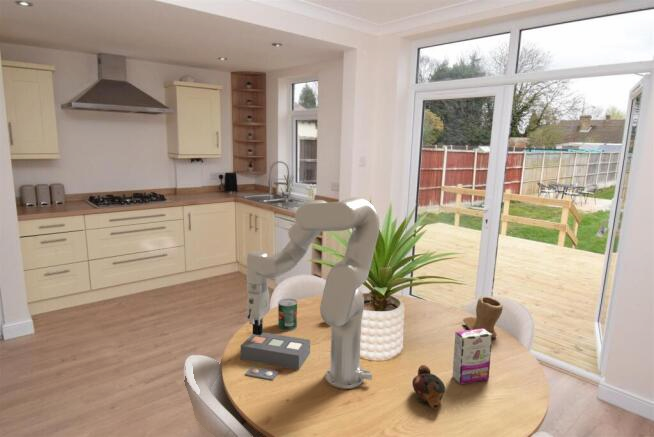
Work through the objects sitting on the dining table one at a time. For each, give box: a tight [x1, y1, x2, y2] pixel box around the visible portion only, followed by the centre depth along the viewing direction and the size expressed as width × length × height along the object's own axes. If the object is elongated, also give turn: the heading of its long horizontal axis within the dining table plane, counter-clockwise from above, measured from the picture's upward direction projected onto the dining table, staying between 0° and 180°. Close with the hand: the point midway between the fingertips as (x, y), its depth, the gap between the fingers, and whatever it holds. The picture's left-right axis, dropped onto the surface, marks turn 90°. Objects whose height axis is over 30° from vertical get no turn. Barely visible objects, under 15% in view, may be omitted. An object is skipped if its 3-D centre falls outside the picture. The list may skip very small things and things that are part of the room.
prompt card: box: [244, 366, 280, 381], centre depth 136 cm, size 10×5×1 cm, turn 74°
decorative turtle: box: [411, 364, 446, 410], centre depth 124 cm, size 10×15×8 cm, turn 8°
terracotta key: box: [250, 336, 266, 344], centre depth 149 cm, size 4×4×2 cm
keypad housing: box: [240, 331, 311, 371], centre depth 147 cm, size 22×12×5 cm, turn 74°
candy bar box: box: [452, 328, 493, 385], centre depth 134 cm, size 11×5×16 cm, turn 105°
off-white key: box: [286, 342, 302, 350], centre depth 145 cm, size 4×4×2 cm
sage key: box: [268, 339, 284, 347], centre depth 147 cm, size 4×4×2 cm
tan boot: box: [463, 296, 503, 339], centre depth 169 cm, size 15×12×15 cm
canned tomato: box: [277, 298, 298, 332], centre depth 170 cm, size 8×8×11 cm
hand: (257, 333), depth 148 cm, fingers closed
